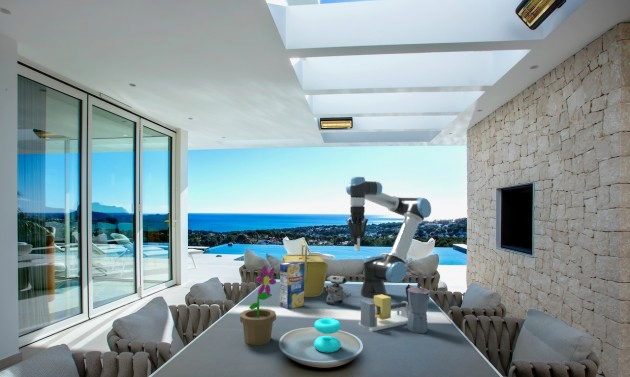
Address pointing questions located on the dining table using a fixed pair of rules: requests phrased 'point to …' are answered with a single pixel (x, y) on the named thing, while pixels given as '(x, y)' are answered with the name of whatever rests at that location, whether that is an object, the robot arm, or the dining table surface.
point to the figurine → (335, 289)
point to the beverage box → (291, 285)
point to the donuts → (327, 342)
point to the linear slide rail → (375, 323)
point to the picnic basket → (310, 271)
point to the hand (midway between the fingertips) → (357, 250)
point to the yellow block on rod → (383, 306)
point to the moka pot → (417, 308)
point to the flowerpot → (259, 314)
